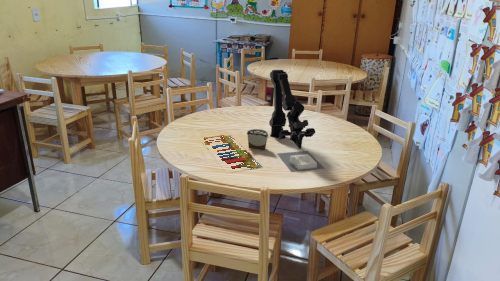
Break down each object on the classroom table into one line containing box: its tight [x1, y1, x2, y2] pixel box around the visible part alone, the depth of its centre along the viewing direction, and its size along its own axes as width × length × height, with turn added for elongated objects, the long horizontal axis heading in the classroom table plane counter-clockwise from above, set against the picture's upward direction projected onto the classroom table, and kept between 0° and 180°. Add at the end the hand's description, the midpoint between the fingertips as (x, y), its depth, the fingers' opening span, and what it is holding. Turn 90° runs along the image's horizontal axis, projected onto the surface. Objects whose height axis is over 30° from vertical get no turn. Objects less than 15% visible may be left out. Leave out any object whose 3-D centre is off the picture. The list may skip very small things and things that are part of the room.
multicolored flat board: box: [203, 134, 263, 170], centre depth 194 cm, size 45×2×19 cm
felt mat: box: [276, 150, 326, 173], centre depth 187 cm, size 22×18×1 cm
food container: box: [246, 128, 269, 151], centre depth 199 cm, size 12×6×10 cm, turn 71°
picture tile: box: [290, 154, 317, 170], centre depth 183 cm, size 3×10×11 cm
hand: (300, 148), depth 185 cm, fingers closed
